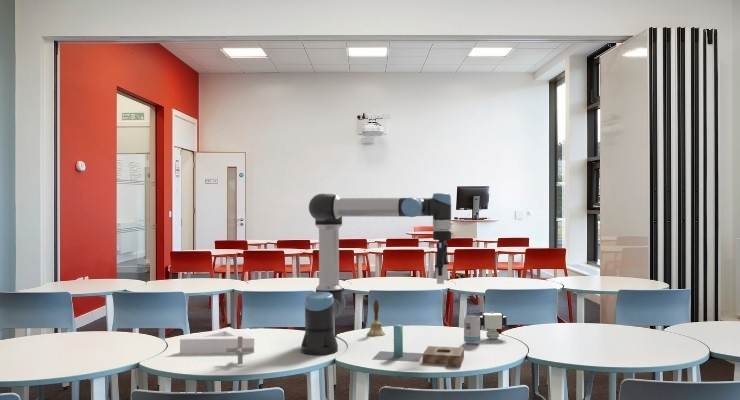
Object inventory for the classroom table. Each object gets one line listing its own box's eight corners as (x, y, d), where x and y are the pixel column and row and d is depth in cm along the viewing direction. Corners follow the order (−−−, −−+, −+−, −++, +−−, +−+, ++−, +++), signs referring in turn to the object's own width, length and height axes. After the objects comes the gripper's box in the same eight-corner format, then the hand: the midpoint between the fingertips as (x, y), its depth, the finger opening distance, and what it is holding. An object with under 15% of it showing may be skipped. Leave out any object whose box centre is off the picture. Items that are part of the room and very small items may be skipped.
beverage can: (483, 344, 271) (483, 316, 271) (469, 345, 268) (469, 317, 268) (474, 341, 277) (474, 313, 277) (461, 342, 274) (460, 314, 275)
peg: (393, 357, 246) (392, 326, 246) (394, 355, 250) (394, 324, 250) (401, 357, 246) (401, 326, 246) (403, 355, 249) (403, 324, 249)
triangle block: (180, 355, 257) (180, 339, 257) (195, 341, 283) (195, 327, 283) (254, 354, 258) (254, 338, 258) (263, 340, 284) (263, 326, 284)
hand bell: (388, 333, 295) (388, 299, 295) (378, 336, 288) (378, 301, 288) (373, 331, 300) (373, 298, 300) (363, 334, 293) (363, 300, 293)
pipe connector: (228, 360, 245) (228, 334, 246) (255, 359, 246) (254, 333, 246) (224, 366, 235) (224, 339, 236) (252, 366, 236) (251, 339, 236)
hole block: (422, 364, 236) (422, 354, 236) (428, 356, 250) (428, 346, 250) (460, 366, 233) (460, 356, 233) (464, 358, 247) (463, 347, 247)
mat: (371, 360, 243) (371, 359, 243) (379, 352, 257) (379, 351, 257) (418, 363, 239) (418, 361, 239) (423, 354, 252) (423, 353, 252)
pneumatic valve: (506, 339, 280) (506, 312, 280) (480, 339, 281) (479, 312, 281) (504, 337, 286) (504, 310, 286) (478, 336, 286) (478, 310, 287)
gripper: (448, 231, 249) (448, 285, 249) (453, 229, 274) (454, 279, 273) (429, 231, 251) (429, 285, 251) (436, 229, 275) (436, 278, 275)
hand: (442, 282), depth 262 cm, fingers open, 13 cm apart
